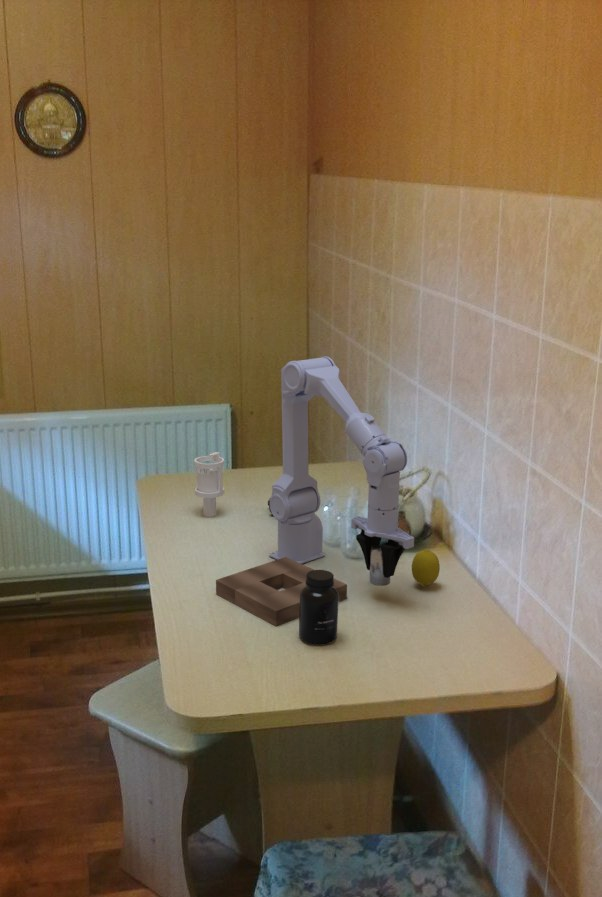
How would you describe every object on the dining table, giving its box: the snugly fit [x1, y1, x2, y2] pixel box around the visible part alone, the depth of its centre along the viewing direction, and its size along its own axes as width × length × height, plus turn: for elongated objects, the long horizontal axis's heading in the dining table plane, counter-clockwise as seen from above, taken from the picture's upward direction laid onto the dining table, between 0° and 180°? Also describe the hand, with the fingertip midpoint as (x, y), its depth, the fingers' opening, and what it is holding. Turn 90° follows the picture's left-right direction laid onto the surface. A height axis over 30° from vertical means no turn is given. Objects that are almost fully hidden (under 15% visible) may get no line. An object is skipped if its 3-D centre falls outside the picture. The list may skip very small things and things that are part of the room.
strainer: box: [193, 451, 225, 518], centre depth 223 cm, size 7×7×15 cm
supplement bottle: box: [298, 569, 340, 646], centre depth 163 cm, size 7×7×12 cm
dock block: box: [215, 557, 348, 627], centre depth 180 cm, size 18×18×3 cm
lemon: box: [411, 548, 440, 587], centre depth 185 cm, size 6×6×8 cm
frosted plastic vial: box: [369, 543, 391, 587], centre depth 179 cm, size 4×4×7 cm
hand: (380, 572), depth 179 cm, fingers closed on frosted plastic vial, 4 cm apart
